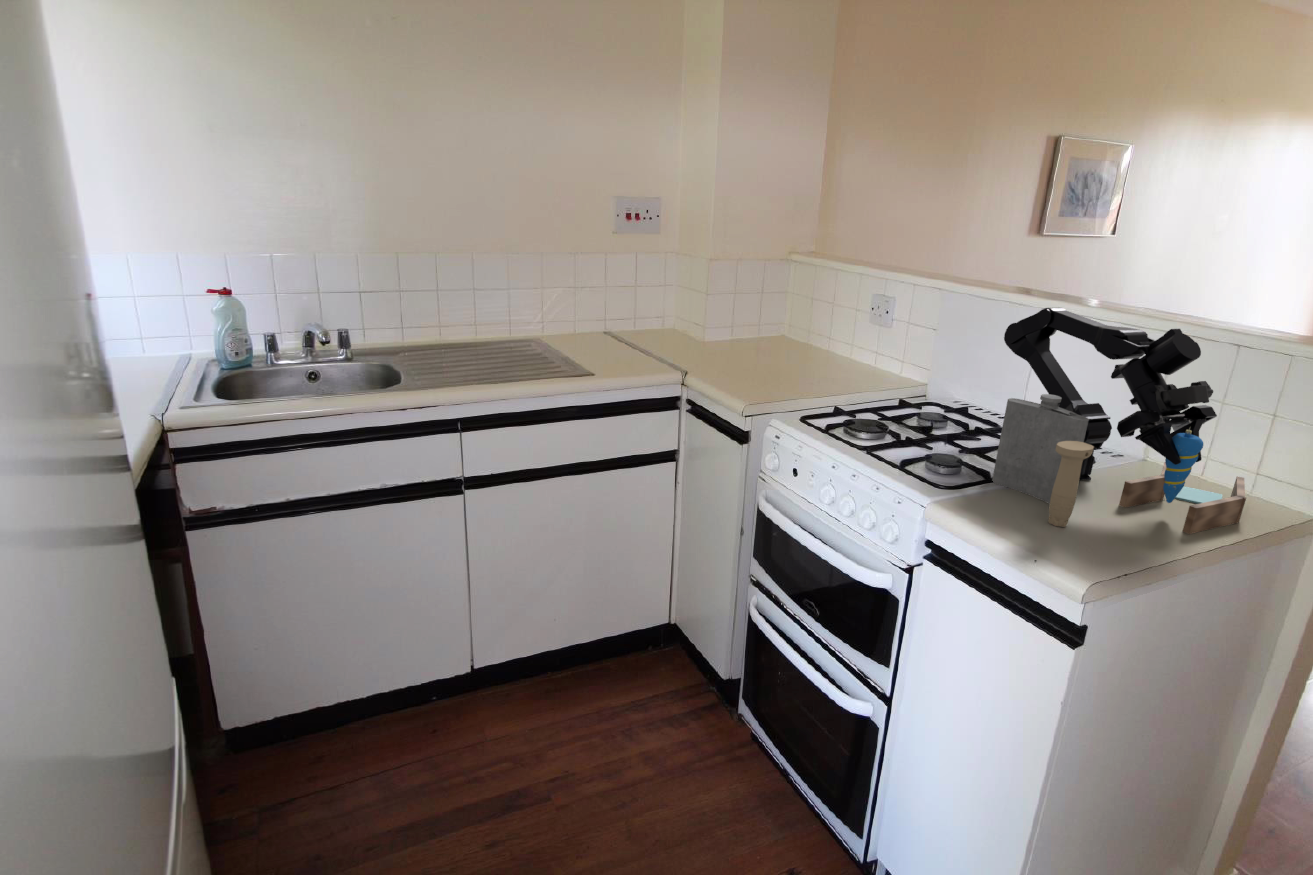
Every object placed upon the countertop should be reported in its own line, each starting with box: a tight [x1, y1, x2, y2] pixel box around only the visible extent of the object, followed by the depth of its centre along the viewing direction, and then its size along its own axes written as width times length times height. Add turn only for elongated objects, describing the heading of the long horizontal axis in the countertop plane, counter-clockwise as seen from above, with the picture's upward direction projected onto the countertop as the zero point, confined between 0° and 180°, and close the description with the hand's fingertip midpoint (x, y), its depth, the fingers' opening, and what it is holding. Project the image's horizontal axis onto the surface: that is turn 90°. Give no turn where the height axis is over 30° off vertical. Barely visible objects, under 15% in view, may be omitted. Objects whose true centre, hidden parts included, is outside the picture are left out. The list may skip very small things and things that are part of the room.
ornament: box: [1163, 428, 1204, 504], centre depth 139 cm, size 5×5×15 cm
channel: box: [1118, 461, 1247, 535], centre depth 145 cm, size 25×26×5 cm
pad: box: [1174, 485, 1223, 504], centre depth 152 cm, size 8×8×1 cm
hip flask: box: [991, 393, 1089, 505], centre depth 148 cm, size 16×4×20 cm, turn 32°
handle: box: [1048, 441, 1095, 528], centre depth 134 cm, size 5×6×15 cm
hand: (1188, 462), depth 137 cm, fingers closed on ornament, 5 cm apart
